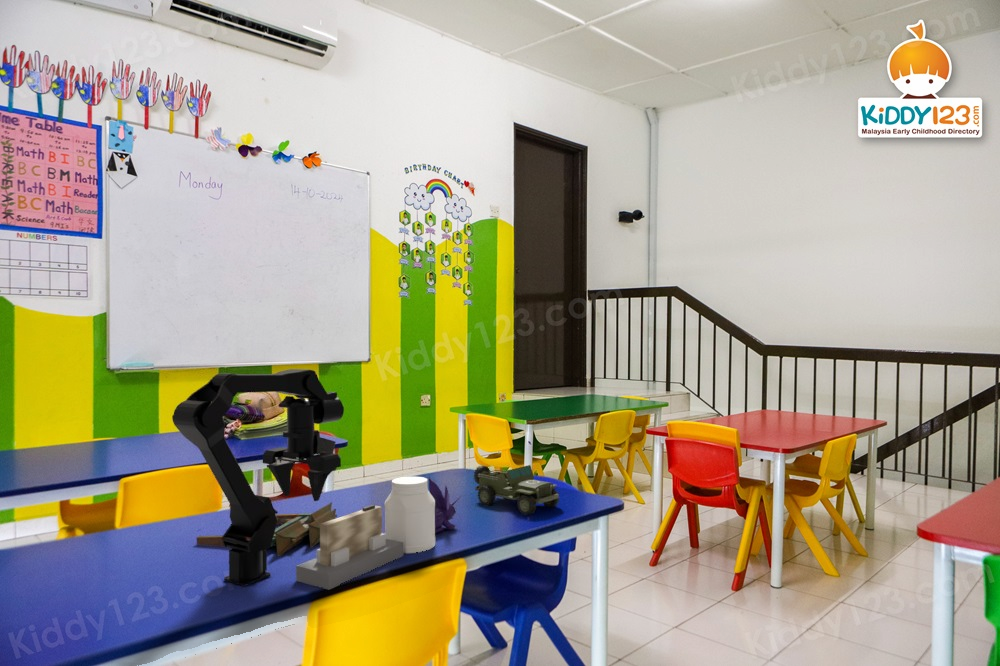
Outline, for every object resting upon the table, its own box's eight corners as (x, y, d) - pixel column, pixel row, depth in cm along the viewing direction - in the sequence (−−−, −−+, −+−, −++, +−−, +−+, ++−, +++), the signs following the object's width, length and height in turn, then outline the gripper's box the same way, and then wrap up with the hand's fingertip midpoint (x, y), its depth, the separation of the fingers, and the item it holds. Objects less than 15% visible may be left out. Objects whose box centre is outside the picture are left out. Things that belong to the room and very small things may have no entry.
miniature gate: (251, 504, 176) (356, 501, 170) (253, 525, 176) (358, 523, 170) (184, 535, 150) (305, 532, 144) (186, 560, 150) (307, 558, 144)
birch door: (327, 565, 130) (327, 522, 130) (320, 564, 131) (319, 520, 131) (382, 543, 144) (381, 504, 144) (375, 542, 145) (374, 502, 145)
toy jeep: (535, 518, 174) (535, 476, 174) (468, 502, 191) (468, 464, 191) (563, 508, 183) (563, 469, 183) (497, 494, 200) (497, 458, 200)
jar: (442, 544, 153) (442, 479, 153) (414, 555, 145) (413, 487, 145) (406, 535, 159) (406, 473, 159) (377, 546, 152) (376, 481, 152)
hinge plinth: (329, 589, 126) (328, 560, 126) (296, 580, 131) (295, 553, 131) (403, 556, 145) (403, 530, 145) (372, 549, 149) (372, 525, 149)
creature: (474, 525, 167) (474, 477, 167) (416, 542, 154) (415, 489, 154) (452, 518, 174) (451, 471, 174) (394, 533, 161) (393, 483, 161)
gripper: (358, 424, 146) (359, 495, 146) (299, 419, 156) (300, 485, 156) (320, 431, 137) (321, 507, 137) (260, 425, 146) (261, 496, 146)
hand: (301, 498), depth 144 cm, fingers open, 9 cm apart
